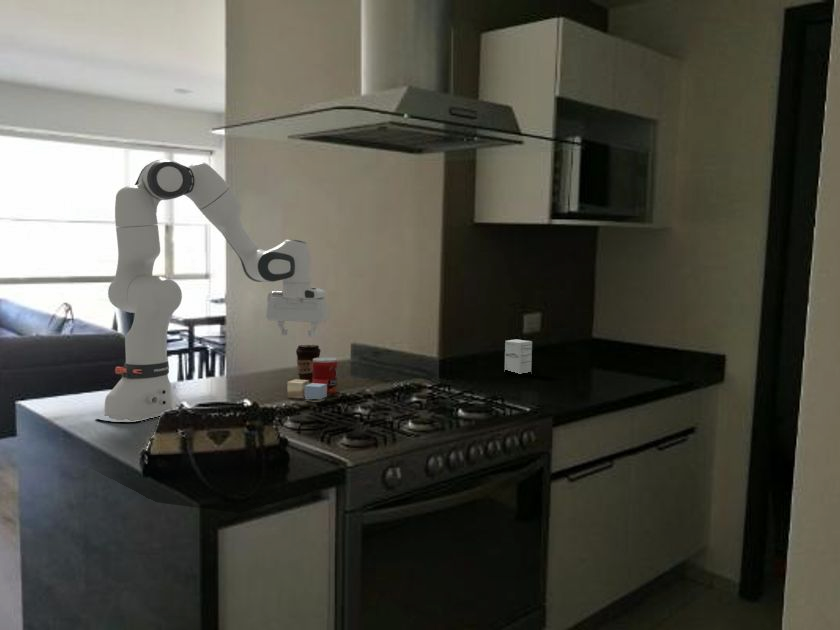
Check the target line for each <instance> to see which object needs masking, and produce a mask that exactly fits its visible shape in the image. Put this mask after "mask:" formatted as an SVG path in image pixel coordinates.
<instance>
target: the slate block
mask: <svg viewBox="0 0 840 630" xmlns="http://www.w3.org/2000/svg"><path fill="white" fill-rule="evenodd" d="M327 395H328V394H327V384H318V383H309V384H308V385H306V386H305V398H304V400H305V399H322V398H324V397H328V396H327Z"/></svg>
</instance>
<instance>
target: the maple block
mask: <svg viewBox="0 0 840 630" xmlns="http://www.w3.org/2000/svg"><path fill="white" fill-rule="evenodd" d="M286 384H287V385H286V386H287V387H286V388H287V398H289V399H300V398H302V399H305V398H304V397H305V386H306V385H308V384H310V383H309V380H299V379H296V378H295V379H292V380H289V381H287V383H286Z"/></svg>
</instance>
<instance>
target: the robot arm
mask: <svg viewBox="0 0 840 630" xmlns="http://www.w3.org/2000/svg"><path fill="white" fill-rule="evenodd" d="M182 196H186V197H187V198H189V199H190V200H191V201H192V202H193V204H194V205H195V206H196V208H198V210H199V212H200V213H202V215H203V216H205V218H206V219H207V220H208V221H209V222H210V223H211V224H212V225H213V226H214V227H215V228H216V229H217V230H218V231H219V232H220V233H221V235H222V236H223V237H224V239H225V240H226V242H227V243H228V244H229V245H230V246H231V248H232V249H233V250H234V252H235V253H236V255H237V256H238V258H239V260H240V262H241V266H242V269H243V272H244V274H245V276H246V277H247V278H249V279H250V280H251V281H252V282H257V283H262V282H264V283H274V282H279V281H282V291H281V290H280V291H276V290H275V291H274V290H272V291H271V292H270V293H268V294H267V301H266V302H267V306H266V307H267V308H266V319H267V320H268V321H274V322H275V321H276V322H277V327H278V328H279V329H280V335H281V336H288V329H287V328H285V325H284V324H285V322H301V323H310V326H311V328H310V329H309V330H308V331H307V336H308V337H311V338H313V337H315V332H316V329H317V328H318V326H319V323H326V322H327V321H328V320H329V317H330V312H329V304H328V301H327V299H326V297H327V291H325V290H324V289H322V288H318V287H315V286H313V285H312V279H311V271H312V262H311V261H312V260H311V259H312V258H311V257H312V256H311V250H310V249H311V248H310V246H309V245H308V243H307V242H305V241H303V240H299V239H298V240H297V239H292V238H289V239H288V238H286V239H284V241H283V242H281V243H280V244H278V245H276V246H274V247H272V248H269V249H267V250H264V249H262V248H260V247H259V246H257V244H256V243H255V241H254V240H253V239H252V238H251V237H250V234H248V232H247V231H246V230H245V228H244V227H243V225H242V223H241V214H242V203H241V202H240V199H239V198H238V196H237V195H236V192H234V190H233V189H232V188H231V186H230V185H229V184H228V183H227V181H226V180H225V179H224V178H223V177H222V176H221V175H220V174H219V173H218V172H217V171H216V170H215V169H214V168H213V167H211V166H210V165H209V164H208V163H206V162H201V161H199V162H195V163H192V164H191V165H189V166H186V165H183V164H181V163H180V162H177V161H174V160H170V159H157V160H153V161H152V162H150V163H148V164H146V165H145V166H144V167H143V168H142V169H141V171H140V173H139V175H138V177H137V179H136V181H135V184H134V185H127V186H124V187H122V188H120V189H119V190H118V191H117V192H116V196H115V203H114V204H115V206H114V220H115V221H114V223H115V231H116V240H117V252H118V255H117V264H116V265H117V266H116V272H115V276H114V278H113V280H112V282H111V283H110V284H109V286H108V288H107V289H108V290H107V297H108V300H109V302H110V303H111V304H112V305H113V306H114V307H115V308H117V309H119V310H120V311H121V310H122V311H123V312H126V313H131V314H132V313H133V314H134V318H133V323H132V324H131V327H130V330H129V331H127V333H126V334H125V336H124V346H125V362H124V365H123V366H116V367H115V369H114V372H115V374H118V375H121V378H120V380H119V381H118V382H117V383H116V385H115V386H114V387H113V388H112V389H111V390H110V391H109V392H108V394H107V395H106V397H105V401H104V411H103V412H104V416H109V418H111V419H116V420H124V419H128V420H130V421H135V420H142V419H146V418H151V417H156V416H159V415H160V414H161V413H162V412H164V411H166V410H168V409H173V408H175V405H174V397H173V396H174V395H173V388H172V383H171V382H170V380H169V379H170V378H169V375H168V374H169V372H170V365H169V361H168V354H167V353H168V349H167V348H168V346H167V344H168V343H167V342H168V341H167V340H168V339H167V338H168V337H167V336H168V331H169V330H168V329H169V325H170V323H171V319H172V316H173V314H174V313H175V311H176V310H178V309H179V307H180V305H181V303H182V299H183V294H182V289H181V287H180V285H179V284H178V283H177V282H176V281H174V280H173V279H171V278H167V277H164V276H163V275H153V270H154V266H155V265H154V264H155V262H156V259H157V258H158V257H159V256H160V254H161V242H160V235H159V233H160V232H159V225H158V224H159V223H158V218H157V217H158V216H157V212H158V205H159V204H160V202H161V201H168V200H169V201H170V200H174V199H177V198H180V197H182Z"/></svg>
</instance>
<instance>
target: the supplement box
mask: <svg viewBox="0 0 840 630" xmlns="http://www.w3.org/2000/svg"><path fill="white" fill-rule="evenodd" d="M504 350H505V351H504V371H505V370H508V371H511V372H515V373H518V374H522V373H528V372H531V373H532V361H533V360H532V358H533V357H532V355H533V354H532V353H533V352H532V351H533V341H532V340H522V339H517V338H516V339H510V340H509V339H508V340H505V343H504Z"/></svg>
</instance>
